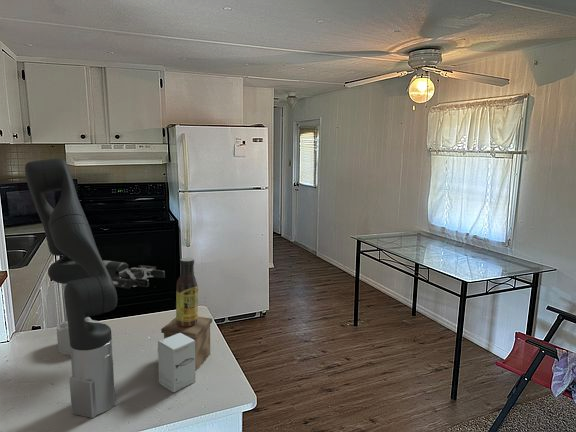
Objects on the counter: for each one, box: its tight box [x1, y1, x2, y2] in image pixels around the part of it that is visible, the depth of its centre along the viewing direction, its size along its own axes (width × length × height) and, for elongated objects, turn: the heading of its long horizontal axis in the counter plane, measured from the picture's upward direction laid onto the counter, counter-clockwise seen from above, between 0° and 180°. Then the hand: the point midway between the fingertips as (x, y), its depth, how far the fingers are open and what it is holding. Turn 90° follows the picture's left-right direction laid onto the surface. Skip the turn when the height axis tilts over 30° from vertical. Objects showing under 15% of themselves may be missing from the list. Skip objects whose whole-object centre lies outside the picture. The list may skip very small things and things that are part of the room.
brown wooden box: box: [160, 316, 213, 372], centre depth 124 cm, size 11×11×12 cm
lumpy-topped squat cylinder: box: [56, 316, 101, 356], centre depth 131 cm, size 10×13×9 cm
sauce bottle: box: [175, 257, 199, 327], centre depth 122 cm, size 7×6×20 cm
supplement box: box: [157, 333, 196, 394], centre depth 113 cm, size 7×7×13 cm
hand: (156, 278), depth 123 cm, fingers open, 8 cm apart
